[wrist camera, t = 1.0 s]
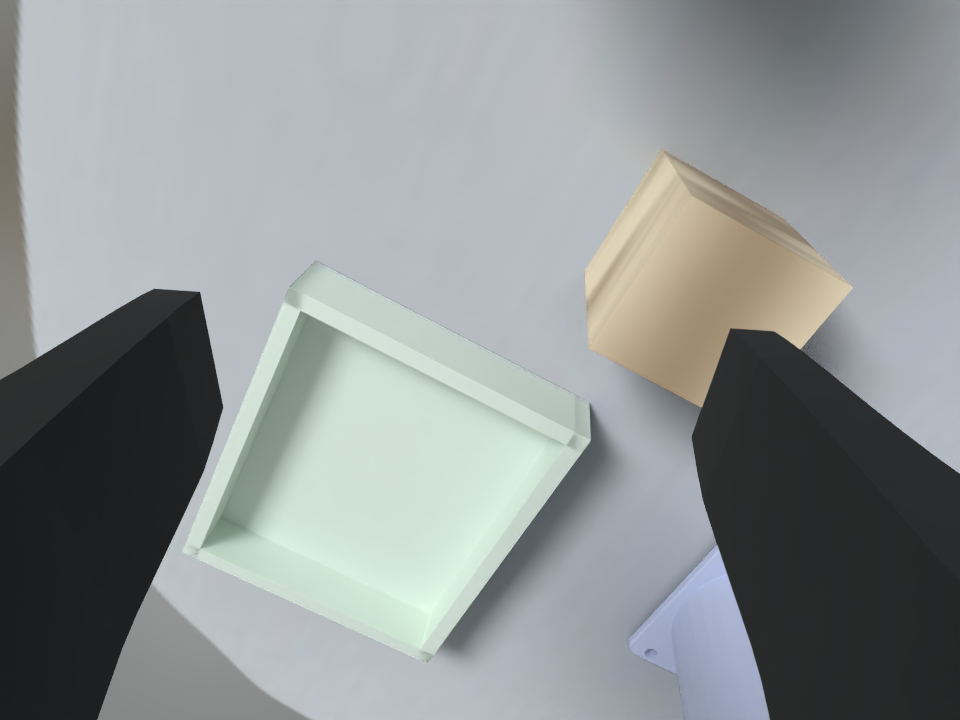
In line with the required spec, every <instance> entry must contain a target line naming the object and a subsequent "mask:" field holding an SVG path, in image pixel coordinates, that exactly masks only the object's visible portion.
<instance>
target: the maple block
mask: <svg viewBox="0 0 960 720" xmlns="http://www.w3.org/2000/svg"><path fill="white" fill-rule="evenodd" d="M585 285H586V304H587V323H588V342H589V349H591V350H593V351H595V352H597V353H598V354H600V355H602V356H604V357H606V358H608V359H610V360H612V361H614V362H616V363H617V364H619V365H621V366H623V367H625V368H627V369H629V370H631V371H633V372H635V373H636V374H638V375H640V376H642V377H644V378H646V379H648V380H650V381H652V382H653V383H655V384H657V385H659V386H661V387H663V388H665V389H667V390H669V391H671V392H672V393H674V394H676V395H678V396H680V397H682V398H684V399H686V400H688V401H690V402H691V403H693V404H695V405H697V406H699V407H701V408H702V406H703V404H704V401H705V398H706V395H707V392H708V390H709V387H710V384H711V381H712V378H713V376H714V373H715V370H716V367H717V364H718V362H719V359H720V356H721V353H722V350H723V348H724V345H725V342H726V339H727V336H728V334H729V331H730V328H734V329H749V330H764V331H775V332H776V333H778V334H779V335H781V336H782V337H784V338H785V339H786V340H788V341H789V342H791V343H792V344H793V345H795V346H796V347H797V348H799V349H801V348H802V347H803V346H804V345H805V343H806V342H807V341H808V340H809V339H810V338H811V336H812V335H813V334H814V333H815V332H816V330H817V329H818V328H819V327H820V326H821V325H822V323H823V322H824V321H825V320H826V319H827V318H828V316H829V315H830V314H831V313H832V312H833V311H834V309H835V308H836V307H837V306H838V305H839V303H840V302H841V301H842V300H843V299H844V298H845V296H846V295H847V294H848V293H849V292H850V291H851V289H852V288H853V287H852V286H851V285H850V284H849V283H848V282H847V281H846V280H845V279H844V278H843V277H842V276H841V275H840V274H839V273H838V272H837V271H836V270H835V269H834V268H833V267H832V266H831V265H830V264H829V263H828V262H827V261H826V260H825V259H824V258H823V257H822V256H821V255H820V254H819V253H818V252H817V251H816V250H815V249H814V248H813V247H812V246H811V245H810V244H809V243H808V242H807V241H806V240H805V239H804V238H803V237H802V236H801V235H800V234H799V233H798V232H797V231H796V230H795V229H794V228H793V227H792V226H791V225H790V224H789V223H788V222H787V221H786V220H785V219H783V218H781V217H780V216H778V215H776V214H774V213H773V212H771V211H769V210H767V209H766V208H764V207H762V206H760V205H759V204H757V203H755V202H753V201H752V200H750V199H748V198H746V197H745V196H743V195H741V194H739V193H738V192H736V191H734V190H732V189H731V188H729V187H727V186H725V185H724V184H722V183H720V182H718V181H717V180H715V179H713V178H711V177H710V176H708V175H706V174H705V173H703V172H701V171H699V170H698V169H696V168H694V167H692V166H691V165H689V164H687V163H685V162H684V161H682V160H680V159H678V158H677V157H675V156H673V155H671V154H670V153H668V152H666V151H664V150H663V149H661V151H660V152H659V154H658V156H657V157H656V159H655V160H654V162H653V163H652V165H651V167H650V168H649V170H648V171H647V173H646V175H645V176H644V178H643V179H642V181H641V183H640V184H639V186H638V187H637V189H636V190H635V192H634V194H633V195H632V197H631V198H630V200H629V202H628V203H627V205H626V206H625V208H624V209H623V211H622V213H621V214H620V216H619V217H618V219H617V221H616V222H615V224H614V225H613V227H612V228H611V230H610V232H609V233H608V235H607V236H606V238H605V240H604V241H603V243H602V244H601V246H600V247H599V249H598V251H597V252H596V254H595V255H594V257H593V259H592V260H591V262H590V263H589V265H588V266H587V268H586V270H585Z"/></svg>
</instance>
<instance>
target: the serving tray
mask: <svg viewBox="0 0 960 720" xmlns="http://www.w3.org/2000/svg"><path fill="white" fill-rule="evenodd" d="M590 441H591V430H590V408H589V402H587V401H585V400H583V399H581V398H579V397H577V396H575V395H573V394H571V393H570V392H568V391H566V390H564V389H562V388H560V387H558V386H556V385H554V384H552V383H550V382H548V381H546V380H544V379H542V378H541V377H539V376H537V375H535V374H533V373H531V372H529V371H527V370H525V369H523V368H521V367H519V366H517V365H515V364H513V363H512V362H510V361H508V360H506V359H504V358H502V357H500V356H498V355H496V354H494V353H492V352H490V351H488V350H486V349H485V348H483V347H481V346H479V345H477V344H475V343H473V342H471V341H469V340H467V339H465V338H463V337H461V336H459V335H457V334H456V333H454V332H452V331H450V330H448V329H446V328H444V327H442V326H440V325H438V324H436V323H434V322H432V321H430V320H428V319H427V318H425V317H423V316H421V315H419V314H417V313H415V312H413V311H411V310H409V309H407V308H405V307H403V306H401V305H399V304H398V303H396V302H394V301H392V300H390V299H388V298H386V297H384V296H382V295H380V294H378V293H376V292H374V291H372V290H370V289H369V288H367V287H365V286H363V285H361V284H359V283H357V282H355V281H353V280H351V279H349V278H347V277H345V276H343V275H341V274H340V273H338V272H336V271H334V270H332V269H330V268H328V267H326V266H324V265H322V264H320V263H318V262H316V261H315V262H314V263H313V264H312V265H311V266H310V267H309V268H308V269H307V270H306V271H305V272H304V273H303V274H302V275H301V276H300V277H299V278H298V279H297V280H296V281H295V282H294V283H293V284H292V285H291V286H290V287H289V289H288V292H287V294H286V297H285V299H284V302H283V304H282V307H281V309H280V311H279V314H278V316H277V319H276V321H275V324H274V326H273V329H272V331H271V334H270V336H269V339H268V341H267V344H266V346H265V348H264V351H263V353H262V356H261V358H260V361H259V363H258V366H257V368H256V371H255V373H254V376H253V378H252V381H251V383H250V385H249V388H248V390H247V393H246V395H245V398H244V400H243V403H242V405H241V408H240V410H239V413H238V415H237V418H236V420H235V422H234V425H233V427H232V430H231V432H230V435H229V437H228V440H227V442H226V445H225V447H224V450H223V452H222V455H221V457H220V459H219V462H218V464H217V467H216V469H215V472H214V474H213V477H212V479H211V482H210V484H209V487H208V489H207V492H206V494H205V496H204V499H203V501H202V504H201V506H200V509H199V511H198V514H197V516H196V519H195V521H194V524H193V526H192V529H191V531H190V533H189V536H188V538H187V541H186V543H185V546H184V548H183V551H182V552H183V553H185V554H187V555H189V556H191V557H194V558H196V559H198V560H200V561H203V562H205V563H207V564H209V565H211V566H214V567H216V568H218V569H220V570H222V571H225V572H227V573H229V574H231V575H233V576H236V577H238V578H240V579H242V580H244V581H247V582H249V583H251V584H253V585H255V586H258V587H260V588H262V589H264V590H266V591H269V592H271V593H273V594H275V595H277V596H280V597H282V598H284V599H286V600H288V601H291V602H293V603H295V604H297V605H299V606H302V607H304V608H306V609H308V610H310V611H313V612H315V613H317V614H319V615H321V616H324V617H326V618H328V619H330V620H332V621H335V622H337V623H339V624H341V625H343V626H346V627H348V628H350V629H352V630H354V631H357V632H359V633H361V634H363V635H365V636H368V637H370V638H372V639H374V640H377V641H379V642H381V643H383V644H385V645H388V646H390V647H392V648H394V649H396V650H399V651H401V652H403V653H405V654H407V655H410V656H412V657H414V658H416V659H418V660H421V661H423V662H425V663H428V662H429V661H430V659H431V658H432V657H433V655H434V654H435V652H436V651H437V650H438V648H439V647H440V646H441V644H442V643H443V642H444V640H445V639H446V637H447V636H448V635H449V633H450V632H451V631H452V629H453V628H454V627H455V625H456V624H457V622H458V621H459V620H460V618H461V617H462V616H463V614H464V613H465V612H466V610H467V609H468V607H469V606H470V605H471V603H472V602H473V601H474V599H475V598H476V597H477V595H478V594H479V592H480V591H481V590H482V588H483V587H484V586H485V584H486V583H487V582H488V580H489V579H490V577H491V576H492V575H493V573H494V572H495V571H496V569H497V568H498V567H499V565H500V564H501V562H502V561H503V560H504V558H505V557H506V556H507V554H508V553H509V552H510V550H511V549H512V547H513V546H514V545H515V543H516V542H517V541H518V539H519V538H520V537H521V535H522V534H523V532H524V531H525V530H526V528H527V527H528V526H529V524H530V523H531V522H532V520H533V519H534V517H535V516H536V515H537V513H538V512H539V511H540V509H541V508H542V507H543V505H544V504H545V502H546V501H547V500H548V498H549V497H550V496H551V494H552V493H553V492H554V490H555V489H556V487H557V486H558V485H559V483H560V482H561V481H562V479H563V478H564V476H565V475H566V474H567V472H568V471H569V470H570V468H571V467H572V466H573V464H574V463H575V461H576V460H577V459H578V457H579V456H580V455H581V453H582V452H583V451H584V449H585V448H586V446H587V445H588V444H589V442H590Z"/></svg>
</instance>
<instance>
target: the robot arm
mask: <svg viewBox="0 0 960 720" xmlns="http://www.w3.org/2000/svg"><path fill="white" fill-rule="evenodd" d="M222 410H223V404H222V399H221V394H220V389H219V384H218V379H217V374H216V369H215V364H214V359H213V354H212V349H211V344H210V339H209V334H208V329H207V324H206V319H205V314H204V310H203V305H202V300H201V295H200V292H192V291H177V290H163V289H153V290H151V291H149V292H147V293H145V294H143V295H141V296H139V297H137V298H136V299H134V300H132V301H130V302H129V303H127V304H125V305H124V306H122V307H120V308H119V309H117V310H115V311H114V312H112V313H110V314H109V315H107V316H105V317H104V318H102V319H100V320H99V321H97V322H96V323H94V324H92V325H91V326H89V327H88V328H86V329H84V330H83V331H81V332H79V333H78V334H76V335H75V336H73V337H71V338H70V339H68V340H66V341H65V342H63V343H61V344H60V345H58V346H56V347H55V348H53V349H52V350H50V351H48V352H47V353H45V354H43V355H42V356H40V357H38V358H37V359H35V360H33V361H32V362H30V363H29V364H27V365H25V366H24V367H22V368H20V369H19V370H17V371H15V372H14V373H12V374H10V375H8V376H6V377H4V378H3V379H1V380H0V720H97V718H98V716H99V713H100V710H101V707H102V704H103V701H104V698H105V695H106V693H107V690H108V687H109V684H110V681H111V679H112V676H113V673H114V670H115V667H116V664H117V661H118V659H119V656H120V653H121V650H122V647H123V645H124V643H125V641H126V638H127V636H128V633H129V631H130V629H131V626H132V624H133V621H134V619H135V617H136V614H137V612H138V610H139V608H140V606H141V604H142V602H143V600H144V597H145V595H146V593H147V591H148V589H149V587H150V585H151V583H152V581H153V578H154V576H155V574H156V572H157V570H158V568H159V566H160V564H161V562H162V559H163V557H164V555H165V553H166V551H167V549H168V547H169V545H170V543H171V540H172V538H173V536H174V534H175V532H176V530H177V528H178V526H179V524H180V522H181V519H182V517H183V515H184V513H185V511H186V509H187V506H188V504H189V502H190V500H191V498H192V496H193V493H194V491H195V489H196V487H197V485H198V483H199V480H200V478H201V476H202V474H203V471H204V469H205V466H206V463H207V459H208V456H209V453H210V450H211V447H212V444H213V441H214V437H215V434H216V431H217V427H218V424H219V420H220V417H221V413H222ZM692 442H693V448H694V454H695V460H696V466H697V472H698V477H699V482H700V487H701V492H702V497H703V501H704V505H705V508H706V511H707V514H708V518H709V521H710V524H711V527H712V530H713V533H714V536H715V539H716V542H717V545H716V546H715V547H714V548H713V549H712V550H711V551H710V553H709V554H708V555H707V556H706V557H705V558H704V559H703V560H702V561H701V562H700V563H699V564H698V565H697V566H696V568H695V569H694V570H693V571H692V572H691V573H690V574H689V575H688V576H687V577H686V578H685V579H684V580H683V581H682V583H681V584H680V585H679V586H678V587H677V588H676V589H675V590H674V591H673V592H672V593H671V594H670V595H669V596H668V598H667V599H666V600H665V601H664V602H663V603H662V604H661V605H660V606H659V607H658V608H657V609H656V610H655V611H654V613H653V614H652V615H651V616H650V617H649V618H648V619H647V620H646V621H645V622H644V623H643V624H642V625H641V626H640V627H639V629H638V630H637V631H636V632H635V633H634V634H633V635H632V636H631V637H630V639H629V650H630V651H631V652H632V653H633V654H634V655H637V656H639V657H641V658H643V659H645V660H647V661H649V662H651V663H653V664H655V665H658V666H660V667H662V668H664V669H666V670H668V671H670V672H672V673H674V674H677V676H678V682H679V688H680V695H681V701H682V707H683V714H684V720H960V474H959V473H958V472H956V471H955V470H954V469H952V468H951V467H949V466H948V465H947V464H945V463H944V462H942V461H941V460H940V459H938V458H937V457H936V456H934V455H933V454H931V453H930V452H929V451H928V450H926V449H925V448H924V447H922V446H921V445H920V444H918V443H917V442H916V441H914V440H913V439H912V438H910V437H909V436H908V435H906V434H905V433H904V432H903V431H901V430H900V429H899V428H897V427H896V426H895V425H894V424H892V423H891V422H890V421H888V420H887V419H886V418H885V417H883V416H882V415H881V414H880V413H878V412H877V411H876V410H875V409H873V408H872V407H871V406H870V405H868V404H867V403H866V402H865V401H863V400H862V399H861V398H860V397H858V396H857V395H856V394H855V393H853V392H852V391H851V390H850V389H849V388H847V387H846V386H845V385H844V384H842V383H841V382H840V381H839V380H837V379H836V378H835V377H834V376H832V375H831V374H830V373H829V372H828V371H826V370H825V369H824V368H823V367H821V366H820V365H819V364H818V363H816V362H815V361H814V360H813V359H811V358H810V357H809V356H808V355H806V354H805V353H804V352H802V351H801V350H800V349H799V348H797V347H796V346H795V345H793V344H792V343H791V342H789V341H788V340H786V339H785V338H784V337H782V336H781V335H779V334H778V333H776V332H775V331H764V330H749V329H734V328H730V331H729V334H728V336H727V339H726V342H725V345H724V348H723V350H722V353H721V356H720V359H719V362H718V364H717V367H716V370H715V373H714V376H713V378H712V381H711V384H710V387H709V390H708V392H707V395H706V398H705V401H704V404H703V406H702V409H701V412H700V415H699V418H698V421H697V423H696V426H695V429H694V432H693V435H692ZM648 649H653V650H648Z"/></svg>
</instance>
